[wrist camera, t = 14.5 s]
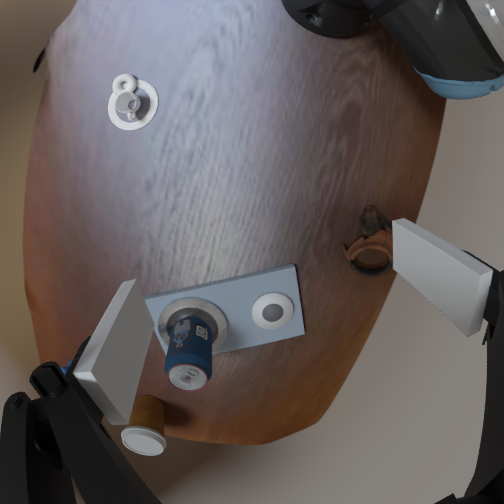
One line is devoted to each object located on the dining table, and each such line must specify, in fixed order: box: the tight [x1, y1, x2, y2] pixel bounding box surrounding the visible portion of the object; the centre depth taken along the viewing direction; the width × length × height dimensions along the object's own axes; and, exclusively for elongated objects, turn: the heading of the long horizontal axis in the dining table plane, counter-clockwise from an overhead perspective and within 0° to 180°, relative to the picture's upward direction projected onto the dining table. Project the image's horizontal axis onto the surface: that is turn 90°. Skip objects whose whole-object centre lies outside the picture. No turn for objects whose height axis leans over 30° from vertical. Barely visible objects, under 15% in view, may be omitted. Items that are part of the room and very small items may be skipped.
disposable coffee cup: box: [121, 396, 166, 456], centre depth 53 cm, size 10×10×12 cm
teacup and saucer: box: [108, 74, 158, 130], centre depth 36 cm, size 9×8×4 cm
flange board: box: [144, 264, 305, 355], centre depth 51 cm, size 26×14×2 cm, turn 102°
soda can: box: [164, 317, 213, 392], centre depth 44 cm, size 7×7×12 cm
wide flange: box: [158, 297, 227, 352], centre depth 50 cm, size 12×12×1 cm
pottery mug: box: [343, 206, 393, 277], centre depth 46 cm, size 12×10×8 cm
